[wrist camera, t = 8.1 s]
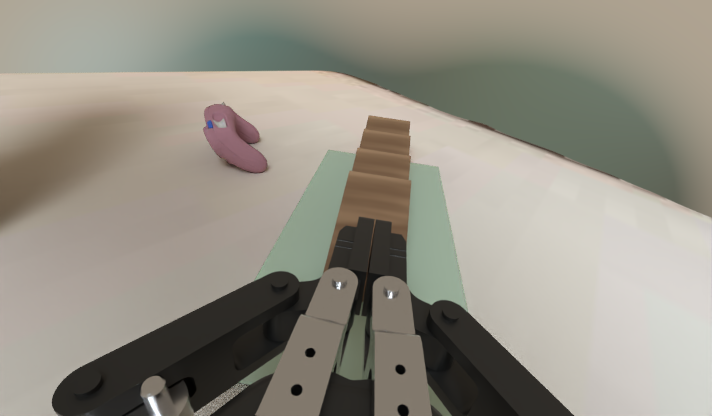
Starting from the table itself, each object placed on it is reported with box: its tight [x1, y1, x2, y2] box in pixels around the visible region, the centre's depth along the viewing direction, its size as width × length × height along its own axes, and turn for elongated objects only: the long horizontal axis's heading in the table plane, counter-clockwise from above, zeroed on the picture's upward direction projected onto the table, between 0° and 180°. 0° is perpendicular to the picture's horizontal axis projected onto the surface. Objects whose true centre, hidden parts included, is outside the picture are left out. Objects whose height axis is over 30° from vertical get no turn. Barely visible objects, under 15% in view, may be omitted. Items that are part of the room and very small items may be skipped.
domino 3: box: [352, 148, 411, 180], centre depth 27 cm, size 2×5×10 cm
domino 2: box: [360, 129, 410, 156], centre depth 32 cm, size 2×5×10 cm
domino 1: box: [366, 116, 410, 136], centre depth 36 cm, size 2×5×10 cm
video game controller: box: [203, 102, 267, 173], centre depth 36 cm, size 10×5×7 cm, turn 20°
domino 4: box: [323, 171, 411, 302], centre depth 23 cm, size 2×5×10 cm
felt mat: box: [238, 150, 468, 416], centre depth 28 cm, size 30×14×1 cm, turn 172°
